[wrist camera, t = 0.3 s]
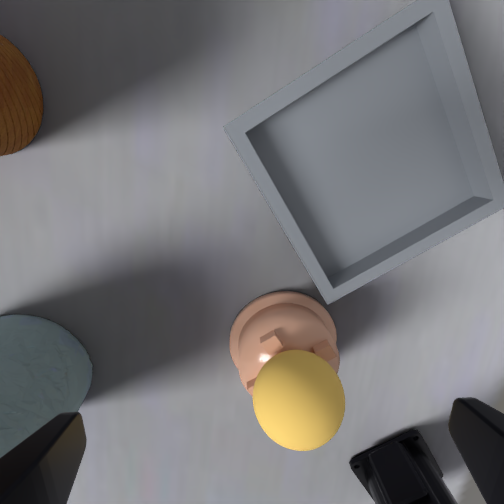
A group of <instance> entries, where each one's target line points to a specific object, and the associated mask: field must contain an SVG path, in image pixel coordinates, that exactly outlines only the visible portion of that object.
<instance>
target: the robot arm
mask: <svg viewBox="0 0 504 504" xmlns="http://www.w3.org/2000/svg"><path fill="white" fill-rule="evenodd" d="M448 426H449V431H450V434H451V436H452V438H453V440H454V442H455V444H456V446H457V448H458V450H459V452H460V454H461V456H462V458H463V459H464V461H465V463H466V465H467V467H468V469H469V471H470V473H471V475H472V477H473V479H474V481H475V483H476V484H477V486H478V488H479V490H480V492H481V494H482V496H483V498H484V499H485V501H486V503H487V504H504V414H503V413H501V412H499V411H498V410H496V409H494V408H492V407H490V406H489V405H487V404H485V403H483V402H481V401H479V400H478V399H476V398H472V397H467V398H457V399H456V400H455V401H454V403H453V407H452V411H451V415H450V419H449V423H448ZM85 448H86V434H85V429H84V425H83V420H82V416H81V414H80V413H79V412H63V413H60V414H58V415H57V416H55V417H54V418H53V419H51V420H50V421H49V422H47V423H46V424H45V425H43V426H42V427H41V428H39V429H38V430H37V431H35V432H34V433H33V434H31V435H30V436H29V437H27V438H26V439H25V440H23V441H22V442H21V443H19V444H18V445H17V446H15V447H14V448H13V449H11V450H10V451H9V452H7V453H6V454H5V455H3V456H2V457H1V458H0V504H67V501H68V498H69V495H70V492H71V489H72V486H73V483H74V480H75V478H76V475H77V472H78V469H79V466H80V463H81V460H82V457H83V454H84V451H85ZM349 464H350V466H351V469H352V471H353V472H354V473H355V475H356V476H357V478H358V479H359V480H360V482H361V483H362V485H363V486H364V487H365V489H366V490H367V492H368V493H369V494H370V496H371V497H372V499H373V500H374V501H375V504H458V503H457V502H456V500H455V499H454V497H453V495H452V494H451V492H450V491H449V489H448V488H447V486H446V485H445V483H444V481H443V480H442V477H443V473H442V472H441V470H440V468H439V466H438V464H437V463H436V461H435V459H434V457H433V455H432V454H431V452H430V450H429V448H428V446H427V445H426V443H425V441H424V439H423V437H422V436H421V434H420V433H419V431H418V430H411V431H409V432H407V433H405V434H403V435H401V436H398V437H396V438H394V439H392V440H390V441H388V442H386V443H384V444H382V445H380V446H378V447H376V448H374V449H371V450H369V451H367V452H365V453H363V454H361V455H359V456H357V457H355V458H353V459H351V460H350V462H349Z"/></svg>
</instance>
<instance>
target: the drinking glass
mask: <svg viewBox="0 0 504 504" xmlns="http://www.w3.org/2000/svg"><path fill="white" fill-rule="evenodd" d="M89 357H90V356H89V355H88V354H87V351H86V349H85V348H84V347H83V345H82V344H81V343H80V342H79V341H78V340H77V339H76V337H74V336H73V335H72V334H71V333H70V332H69V331H67V330H65V329H64V327H62V326H60V325H58V324H57V323H54V322H52V321H50V320H47V319H44V318H40V317H36V316H30V315H16V314H14V315H6V316H1V317H0V458H1V457H2V456H3V455H5V454H6V453H7V452H9V451H10V450H11V449H13V448H14V447H15V446H17V445H18V444H19V443H21V442H22V441H23V440H25V439H26V438H27V437H29V436H30V435H31V434H33V433H34V432H35V431H37V430H38V429H39V428H41V427H42V426H43V425H45V424H46V423H47V422H49V421H50V420H51V419H53V418H54V417H55V416H57V415H58V414H60V413H63V412H78V410H79V408H80V406H81V404H82V402H83V400H84V399H85V397H86V394H87V392H88V390H89V388H90V386H91V380H92V374H93V372H92V368H93V365H92V363H91V361H90V360H89Z"/></svg>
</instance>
